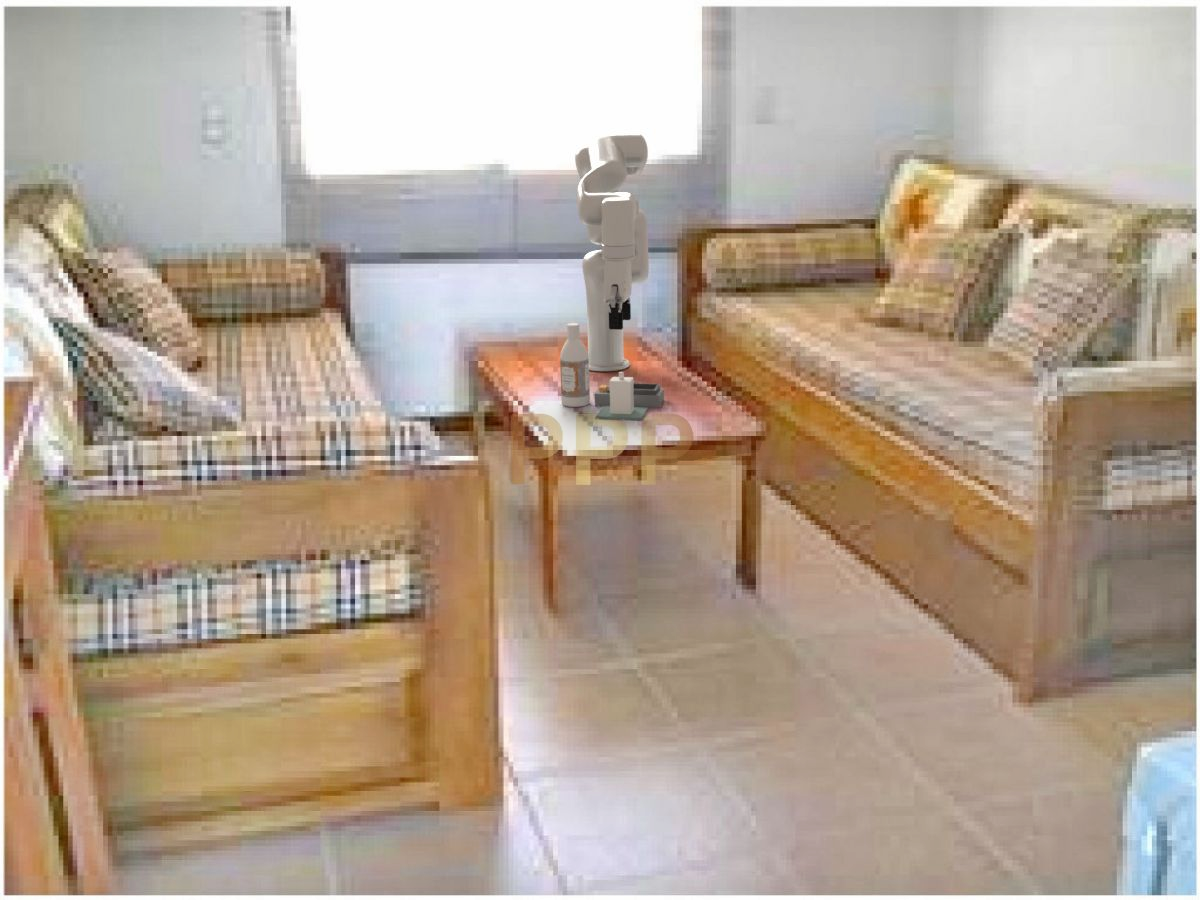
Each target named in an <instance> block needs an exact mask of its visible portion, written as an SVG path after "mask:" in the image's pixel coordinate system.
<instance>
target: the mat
mask: <svg viewBox="0 0 1200 900" xmlns="http://www.w3.org/2000/svg"><path fill="white" fill-rule="evenodd" d="M648 411H649V407H634V410H633V412H632V413H631V414H610V406H601V408H600V410H599V411H598V412H597V414H596V415H595V419H596V418H599V420H600V419H601V420H622V419H624V420H625V421H627V420H628V421H630V420H631V421H642V420H643V418H644V417H645V416H646V413H647V412H648Z"/></svg>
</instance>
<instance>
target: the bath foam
mask: <svg viewBox="0 0 1200 900" xmlns="http://www.w3.org/2000/svg"><path fill="white" fill-rule="evenodd" d="M566 326H567V327H566V328H567V339H566V341H565V342H564V344H563V346H562V348H561V351H560V355H559V356H560V357H559V366H560V369H559V370H560V390H561V391H560V392H561V404H562V405H563V406H565V407H568V408H569V407H570V408H579V407H580V408H581V407H585V406H587V405H589V404H590V402H591V396H590V394H591V392H590V370H589V357H588V350H587V349H588V348H587V347H586V345H585V344H584V342H583V341H582V340H581V337H580V335H581V334H580V323H576V322H569V323H567V325H566Z"/></svg>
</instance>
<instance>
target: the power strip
mask: <svg viewBox="0 0 1200 900" xmlns="http://www.w3.org/2000/svg"><path fill="white" fill-rule="evenodd" d="M633 386H634V407H648V408H659V409H660V408H661V406H662V405H663V403H664V401H665V388H664V387H661V383H647V382H646V383H644V382H641V383H640V382H638V383H636V382H633ZM594 406H595V407H596V406H598V407H603V406H610V386H608V384H600V386H599V388H598V389H597V390H596V392H594Z"/></svg>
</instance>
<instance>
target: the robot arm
mask: <svg viewBox="0 0 1200 900" xmlns="http://www.w3.org/2000/svg"><path fill="white" fill-rule="evenodd" d="M648 149H649V148H648V144H647V141H646V138H645V137H644V136H643V134H641V133H638V132H631V131H630V132H606V133H605V132H604V133H600V134H597V135H595V136H594V137H593V138H592V139H591V140H590V142H589V144H583V145H581V146H579V147H578V148H577V149H576V150H575V153H574V154H575V155H574V163H575V167H576V171H577V173H578V176H579V178H580V182H579V184H578V186H577V189H576V206H577V214H578V218H579V221H581V223H582V224H583V225H585V226H586V233H587V238H588V241H589V242H590V243H592V244H594V245H599V246H600V245H601V247H602V248H601V249H596V250H593V251H589V252H587V253H586V254H585V255H584V257H583V259H582V273H583V279H584V287H585V295H586V296H585V297H586V313H587V314H586V318H587V320H586V321H587V322H586V323H587V349H588V350H587V352H588V357H589V371H592V372H616V371H621V370H625V369H627V368H629V367H630V361H629V359H627V358H625V357H624V354H625V353H624V321H630V320H631V318H632V317H631V316H632V315H631V314H632V313H631V311H632V310H631V308H632V307H631V305H632V304H631V294H632V287H633V286H635V285H636V286H637V285H641V284H644V283H646V282H647V280H648V277H649V236H648V235H649V234H648V233H649V231H648V229H649V228H648V219H647V216H646V213H645V212H644V210H642V208H640V202H639V199H638V198H637V196H636V195H635V194H633V192H630V191H629V192H626V191H621V192H620V191H619V189H621V187H623V185H624V184H625V182H626V181H627V178H628V177H637V176H640V175H641V174H642V173H643V172H644V171H643V170H644V168H645V167H646V165H647V162H648V159H649V158H648V157H649V156H648V155H649V150H648Z"/></svg>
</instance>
